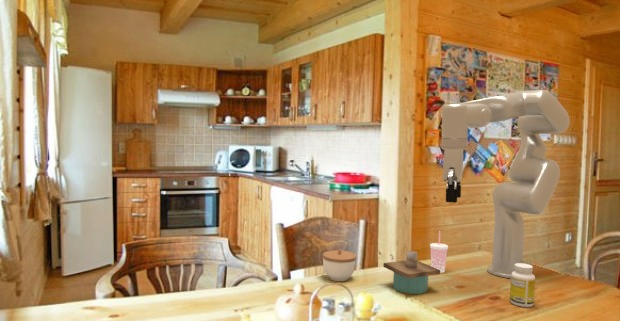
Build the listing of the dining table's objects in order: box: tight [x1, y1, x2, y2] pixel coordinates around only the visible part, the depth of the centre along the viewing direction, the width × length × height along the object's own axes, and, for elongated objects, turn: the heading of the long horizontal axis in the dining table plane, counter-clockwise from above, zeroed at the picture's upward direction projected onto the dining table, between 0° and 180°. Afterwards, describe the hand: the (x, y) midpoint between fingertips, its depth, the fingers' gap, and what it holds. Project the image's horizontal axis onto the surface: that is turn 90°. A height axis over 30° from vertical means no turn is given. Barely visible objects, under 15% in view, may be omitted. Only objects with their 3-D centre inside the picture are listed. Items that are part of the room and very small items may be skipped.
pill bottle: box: [509, 263, 536, 308], centre depth 126 cm, size 6×6×11 cm
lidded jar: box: [322, 248, 357, 282], centre depth 144 cm, size 11×11×9 cm
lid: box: [383, 250, 441, 278], centre depth 136 cm, size 12×12×6 cm
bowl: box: [392, 272, 429, 295], centre depth 136 cm, size 10×10×6 cm
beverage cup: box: [429, 230, 449, 274], centre depth 155 cm, size 6×6×14 cm
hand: (453, 199), depth 138 cm, fingers open, 9 cm apart
